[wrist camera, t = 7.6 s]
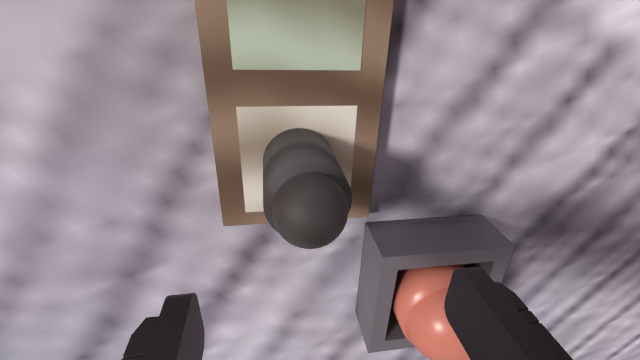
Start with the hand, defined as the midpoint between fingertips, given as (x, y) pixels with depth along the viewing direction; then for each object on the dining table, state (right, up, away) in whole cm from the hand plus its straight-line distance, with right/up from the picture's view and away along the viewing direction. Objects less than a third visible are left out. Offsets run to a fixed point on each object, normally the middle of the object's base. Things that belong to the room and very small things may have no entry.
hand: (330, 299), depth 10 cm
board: (-2, +9, +9) cm, 13 cm away
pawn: (-2, +5, +10) cm, 11 cm away
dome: (+8, -5, +15) cm, 18 cm away
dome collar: (+8, -4, +17) cm, 19 cm away
